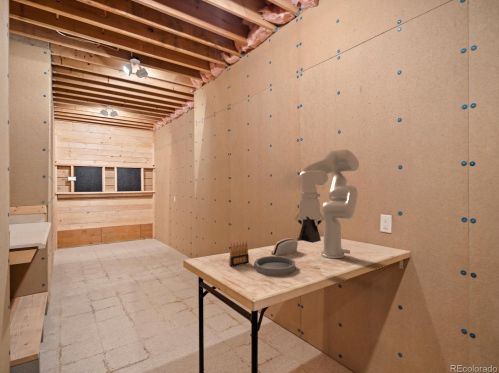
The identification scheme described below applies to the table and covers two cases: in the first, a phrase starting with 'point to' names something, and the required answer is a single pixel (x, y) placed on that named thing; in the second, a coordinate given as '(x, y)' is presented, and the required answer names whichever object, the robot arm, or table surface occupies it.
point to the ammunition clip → (238, 254)
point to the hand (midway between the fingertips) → (309, 233)
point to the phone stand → (309, 231)
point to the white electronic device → (285, 246)
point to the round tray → (274, 265)
